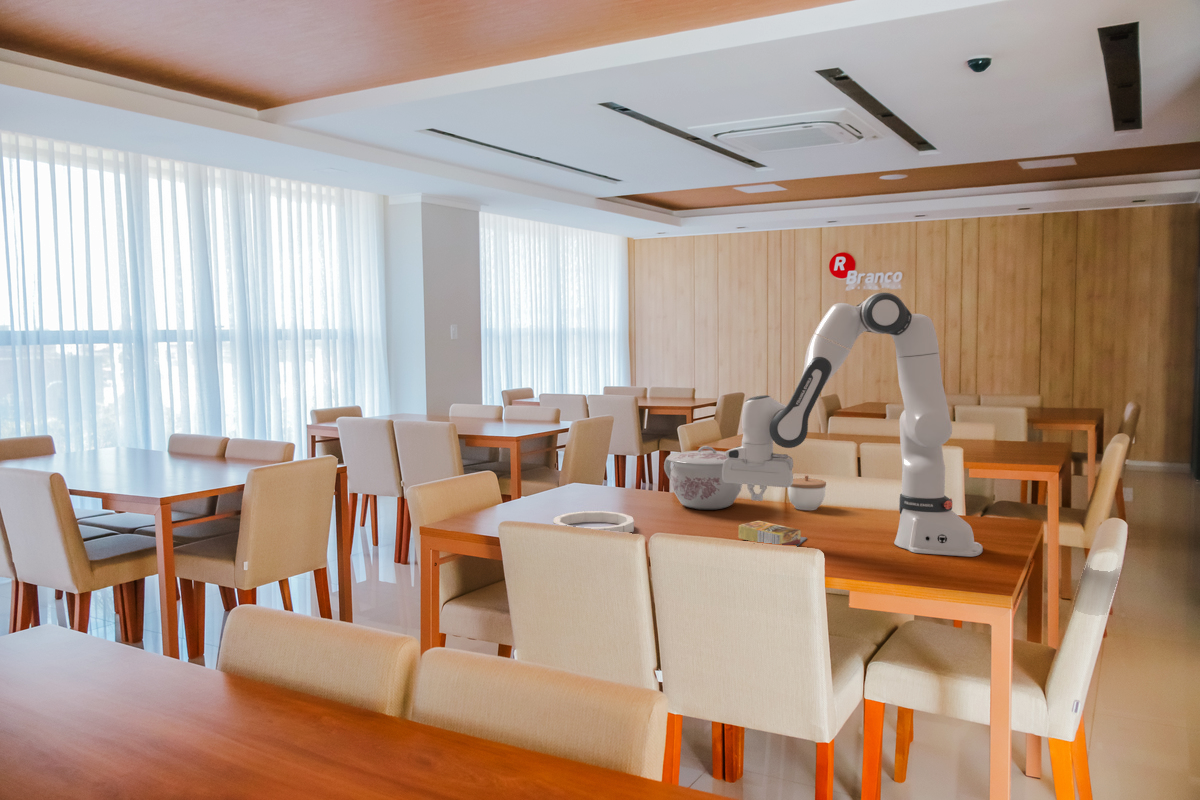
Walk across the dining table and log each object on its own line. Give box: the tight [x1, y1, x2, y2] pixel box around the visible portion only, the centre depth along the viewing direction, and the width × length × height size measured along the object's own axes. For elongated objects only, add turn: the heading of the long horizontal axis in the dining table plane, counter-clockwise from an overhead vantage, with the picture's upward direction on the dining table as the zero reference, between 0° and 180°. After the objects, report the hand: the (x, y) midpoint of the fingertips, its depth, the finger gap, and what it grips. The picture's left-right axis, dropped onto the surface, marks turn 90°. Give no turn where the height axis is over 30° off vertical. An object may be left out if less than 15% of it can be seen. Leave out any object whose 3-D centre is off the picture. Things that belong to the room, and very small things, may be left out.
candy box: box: [738, 520, 802, 545], centre depth 242 cm, size 9×4×15 cm
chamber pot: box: [663, 445, 743, 511], centre depth 293 cm, size 28×28×21 cm
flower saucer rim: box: [552, 510, 635, 533], centre depth 260 cm, size 24×24×3 cm
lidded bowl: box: [787, 475, 827, 511], centre depth 288 cm, size 13×13×11 cm
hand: (756, 500), depth 247 cm, fingers closed
